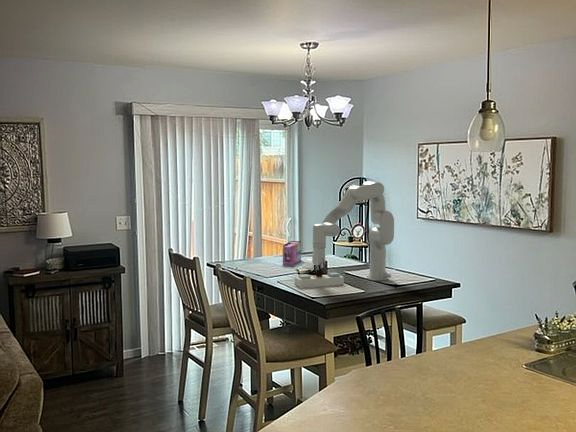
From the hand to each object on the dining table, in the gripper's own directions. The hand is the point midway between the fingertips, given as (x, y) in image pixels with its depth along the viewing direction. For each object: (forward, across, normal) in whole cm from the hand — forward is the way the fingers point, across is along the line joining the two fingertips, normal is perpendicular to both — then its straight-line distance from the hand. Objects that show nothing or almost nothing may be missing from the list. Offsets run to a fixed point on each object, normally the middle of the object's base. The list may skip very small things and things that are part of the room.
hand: (319, 276), depth 328 cm
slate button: (+2, 0, +9) cm, 9 cm away
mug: (+5, -36, +8) cm, 38 cm away
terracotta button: (+3, 0, 0) cm, 3 cm away
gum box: (+5, -74, +7) cm, 74 cm away
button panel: (+5, 0, 0) cm, 5 cm away
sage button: (+2, 0, -9) cm, 9 cm away
